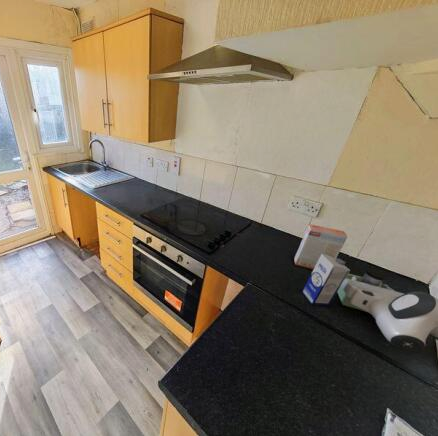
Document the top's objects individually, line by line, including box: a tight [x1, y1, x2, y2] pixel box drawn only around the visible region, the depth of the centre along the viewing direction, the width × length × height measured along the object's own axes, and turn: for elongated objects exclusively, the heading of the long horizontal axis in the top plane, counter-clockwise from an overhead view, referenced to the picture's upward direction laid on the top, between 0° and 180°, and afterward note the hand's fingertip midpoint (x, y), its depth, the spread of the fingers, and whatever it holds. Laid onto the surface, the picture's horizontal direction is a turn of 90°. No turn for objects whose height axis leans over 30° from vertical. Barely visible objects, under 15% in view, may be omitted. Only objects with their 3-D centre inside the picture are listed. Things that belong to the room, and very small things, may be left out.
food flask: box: [360, 268, 386, 287], centre depth 92 cm, size 5×5×12 cm
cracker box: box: [293, 223, 348, 271], centre depth 107 cm, size 14×6×21 cm, turn 65°
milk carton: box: [302, 254, 351, 306], centre depth 88 cm, size 7×7×20 cm
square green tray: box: [337, 273, 383, 313], centre depth 94 cm, size 17×18×4 cm
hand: (368, 281), depth 92 cm, fingers open, 8 cm apart
